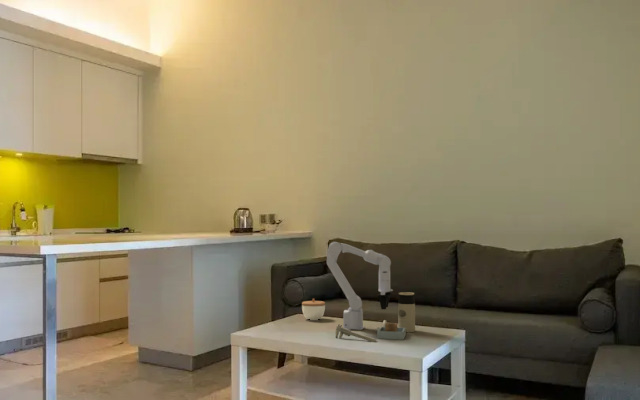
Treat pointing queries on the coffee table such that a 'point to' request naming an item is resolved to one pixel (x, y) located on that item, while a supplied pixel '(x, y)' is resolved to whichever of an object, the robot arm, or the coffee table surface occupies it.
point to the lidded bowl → (313, 309)
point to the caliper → (349, 332)
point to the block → (391, 327)
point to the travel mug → (406, 311)
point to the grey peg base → (383, 325)
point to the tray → (391, 333)
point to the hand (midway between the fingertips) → (384, 308)
